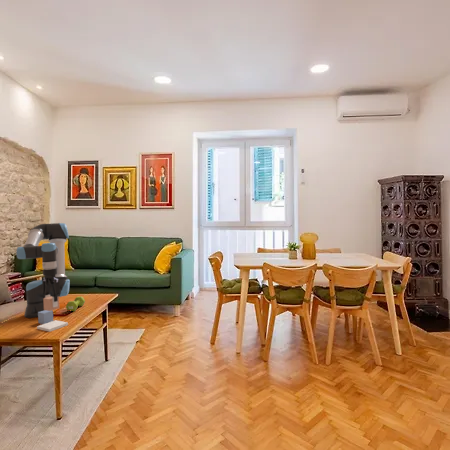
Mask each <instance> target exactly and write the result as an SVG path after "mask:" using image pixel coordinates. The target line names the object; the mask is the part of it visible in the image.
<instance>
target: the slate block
mask: <svg viewBox="0 0 450 450" xmlns="http://www.w3.org/2000/svg"><path fill="white" fill-rule="evenodd" d="M37 318H38V319H37V320H38V322H37V323H38V324H40V325H43V324H46V323H49V322H52V321H54V310H52V311H47V310H44V311H41V312H38V317H37Z"/></svg>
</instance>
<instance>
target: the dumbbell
mask: <svg viewBox="0 0 450 450" xmlns="http://www.w3.org/2000/svg"><path fill="white" fill-rule="evenodd" d="M85 302H86V300H85V298H84V296H76V297H75V298H74V300H72V301H71V300H70V301H68V302H67V304H66V306H65V309H66V310H67V311H68V310H71V311H73V312H75V311H76V310H77V308H78V306H79V307H83V306H84V305H85V304H86V303H85ZM73 312H72V313H73Z"/></svg>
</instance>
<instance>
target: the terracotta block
mask: <svg viewBox="0 0 450 450" xmlns="http://www.w3.org/2000/svg"><path fill="white" fill-rule="evenodd" d="M43 301H44V310H47V311H55V310H59V309H60V297H58V301H57V302H58V306H57V307H53V303H52V296H51V297H47V298H43Z"/></svg>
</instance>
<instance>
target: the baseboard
mask: <svg viewBox="0 0 450 450" xmlns="http://www.w3.org/2000/svg"><path fill="white" fill-rule="evenodd" d="M66 326H69V322H67V321H62V320H58V319H57V320H56V319H55V320H53V321H52V322H49V323H46V324H40V325H38V326H36V329H37V330H41V331H45V332H50V333H51V332H54V331H56V330H58V329H61V328H64V327H66Z"/></svg>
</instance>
